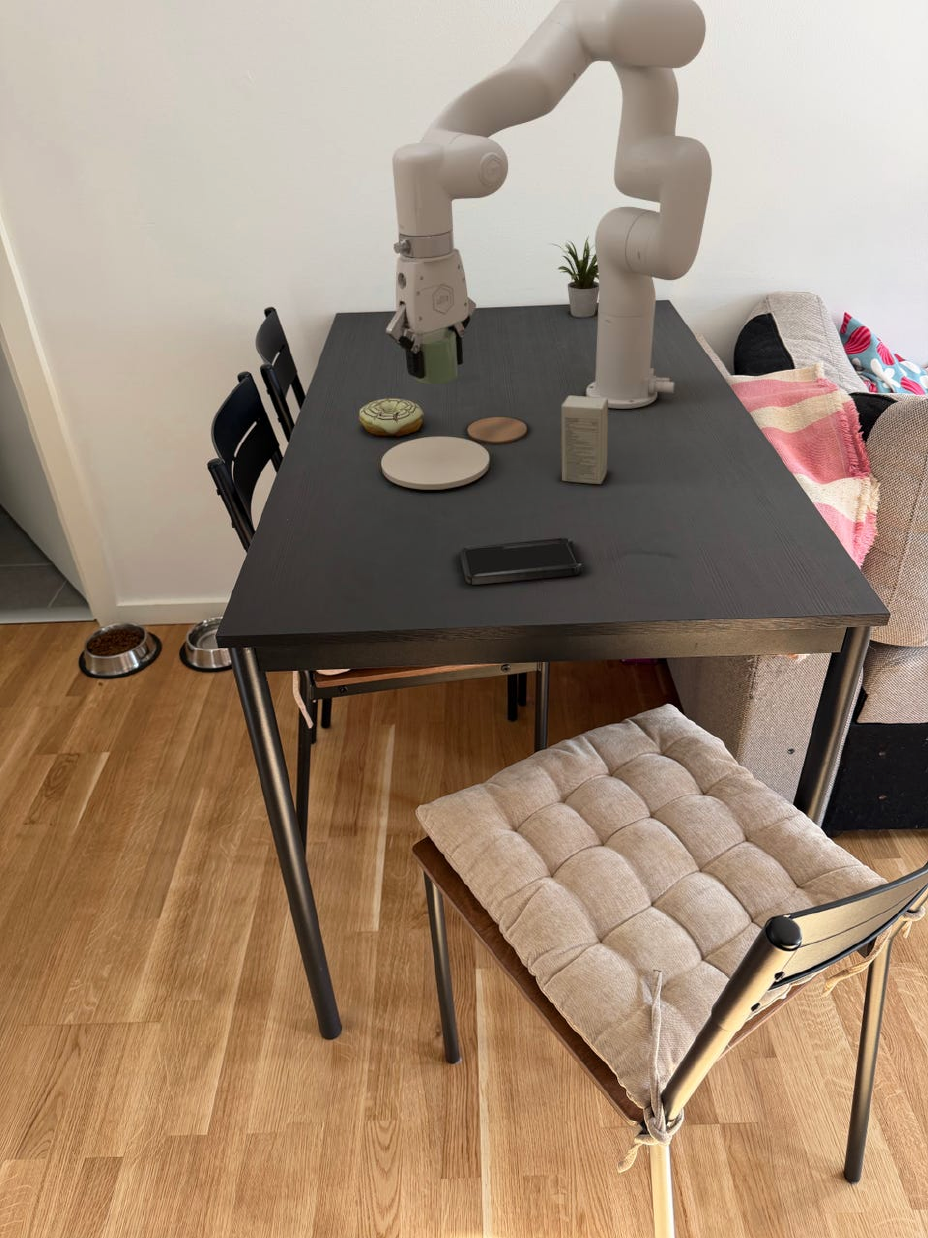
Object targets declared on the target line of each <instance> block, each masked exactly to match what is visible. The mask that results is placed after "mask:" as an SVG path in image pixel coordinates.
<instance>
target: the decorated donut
mask: <svg viewBox="0 0 928 1238" xmlns="http://www.w3.org/2000/svg"><path fill="white" fill-rule="evenodd" d="M424 417H425V416H424V411H423V410H422V408H421V407H420V406H419V405H418V404H417V403H415V402H413V401H411V400H408V399H404V398H395V397H394V398H389V397H388V398H381V399H376V400H373V401H371V402H368V403H367V404H366V405H364V406H363V407H362V408H360V409H359V421H360V423H361V424H362V426H363V428H364V429H365V430H366V431H367V432H369V433H370V434H372V435H376V436H383V437H388V436H389V437H395V436H396V437H401V436H404V435H409V434H411V433H414V432H417V431H419V429H420V427H421V426H422V424H423V418H424Z"/></svg>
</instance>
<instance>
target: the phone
mask: <svg viewBox="0 0 928 1238" xmlns="http://www.w3.org/2000/svg"><path fill="white" fill-rule="evenodd" d="M460 559H461V565H462V569H463V573H464V579H465V582H466V583H467V584H469V585H472V586H474V585H486V584H487V585H488V584H497V583H507V582H518V581H527V580H528V581H529V580H530V581H531V580H539V579H541V580H542V579H551V578H559V577H572V576H577V575H579V574H581V572H582V561H581V559H580V556H579V554H578V552H577V549H576V547H575V544H574V542H573V540H572V539H571V538H568V537H557V538H546V539H536V540H535V539H534V540H525V541H523V540H522V541H513V542H502V543H491V544H481V545H480V544H479V545H470V546H464V547H462V548H461V550H460Z"/></svg>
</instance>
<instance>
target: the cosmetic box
mask: <svg viewBox="0 0 928 1238" xmlns="http://www.w3.org/2000/svg"><path fill="white" fill-rule="evenodd" d="M560 407H561V408H560V409H561V412H560V413H561V416H560V417H561V481H563V482H571V483H581V484H582V483H584V484H593V485H602V484H603V481H604V480H605V478H606V475H607V473H608V437H609V436H608V433H609V431H608V430H609V408H608V398H601V397H587V396H586V395H585V396H583V395H569V394H568V396H567V397H566V398H565V400H564V401H563V402H562V404H561V406H560Z"/></svg>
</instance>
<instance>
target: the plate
mask: <svg viewBox="0 0 928 1238" xmlns="http://www.w3.org/2000/svg"><path fill="white" fill-rule="evenodd" d="M490 462H491V461H490V454H489V452H488V450H487V449H486V448H485V447H484V446H482V445H481V444H479V443H477V442H475V441H473V440H469V439H466V438H461V437H455V436H428V437H427V436H426V437H421V438H416V439H411V440H407V441H404V442H402V443H399V444H397V445H395V446H392V448H389V450H387V451H386V452H385V453H384V455H383V456H382V458H381V461H380V465H381V472H382V475H383V476H384V477H385V478H386V479H387V480H388V481H390V482H391V483H394V484H396V485H397V486H401V487H405V488H409V489H415V490H423V491H424V490H425V491H426V490H427V491H428V490H429V491H431V490H433V491H435V490H446V489H452V488H453V489H454V488H457V487H462V486H465V485H467V484H470V483H472V482H474V481H477V480H479V478H482V476H484V475H485V474H486V473H487V472H488V470H489V468H490V465H491V463H490Z"/></svg>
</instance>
